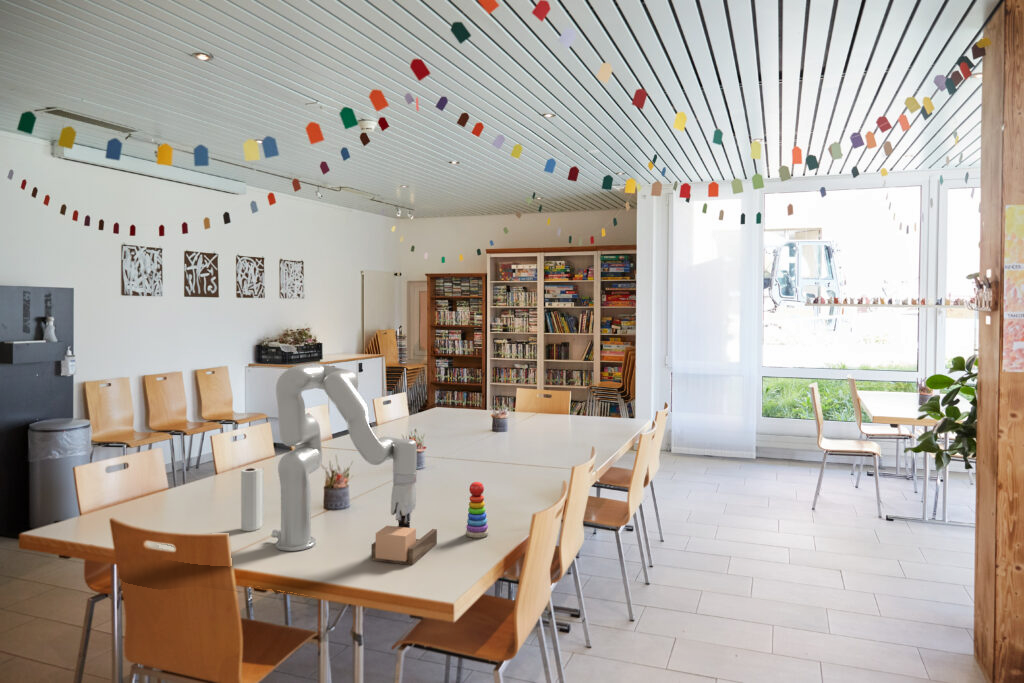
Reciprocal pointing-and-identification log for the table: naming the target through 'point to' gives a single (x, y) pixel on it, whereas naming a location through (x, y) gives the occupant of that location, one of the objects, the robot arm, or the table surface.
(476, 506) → the stacking toy
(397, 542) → the block
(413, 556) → the chute
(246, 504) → the paper towel roll
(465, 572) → the table surface
